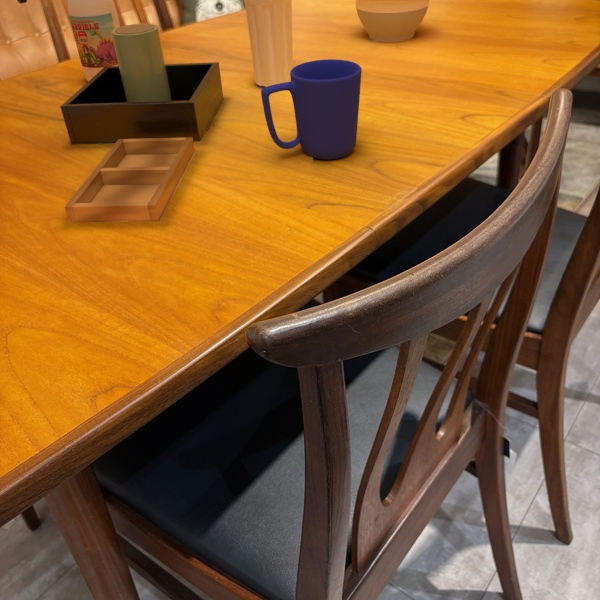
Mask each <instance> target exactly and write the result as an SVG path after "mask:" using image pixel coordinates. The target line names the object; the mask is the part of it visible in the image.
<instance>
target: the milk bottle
mask: <svg viewBox="0 0 600 600" xmlns="http://www.w3.org/2000/svg"><path fill="white" fill-rule="evenodd" d="M66 3H67V10H68V16H69V20H70V24H71V29H72V32H73V37H74V40H75V44H76V48H77V52H78V57H79V60H80V63H81V67H82V68H81V69H82V71H83V74H84V78H85V80H86V81H87V82H88V81H89V80H91V79H92V78H93V77H94V76H95V75H96V74H97V73H98V72H100V71H101V70H102V69H103V68H104V67H108V66H109V67H110V66H118V61H117V57H116V52H115V48H114V44H113V39H112V35H111V31H112V30H113V29H116V28H118V27H121V23H120V19H119V15H118V11H117V6H116V3H115V1H114V0H67V2H66Z"/></svg>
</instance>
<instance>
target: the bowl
mask: <svg viewBox="0 0 600 600" xmlns="http://www.w3.org/2000/svg"><path fill="white" fill-rule="evenodd" d="M429 5H430V0H355V9H356V14H357V17H358V18H359V22H360V23H361V25H362V26H363V28H364V29H365V30H366V32H367V34H368V39H370V40H371V41H375V42H381V43H397V42H403V41H404V42H405V41H408V40H411V39H412V38H414V37H415V32H416V30H417V29H418V28H419V26H420V25H421V24H422V22H423V20H424V18H425V16H426V14H427V12H428V8H429Z"/></svg>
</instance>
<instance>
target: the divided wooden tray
mask: <svg viewBox="0 0 600 600" xmlns="http://www.w3.org/2000/svg"><path fill="white" fill-rule="evenodd" d="M196 153H197V150H196V149H195V144H194V141H193V137H187V138H186V137H183V138H146V139H118V140H117V142H116V143H113V145H112V147H111V148H110V149H109V150H108V151H107V152H106V154H105V155H104V157H102V159H101V161H100V162H98V164H97V165H96V167H95V168H94V169H93V171H91V173H90V174H89V175H88V177H87V178H86V179H85V181H83V183H81V185H80V186H79V188H78V189H77V191H76V192H75V193H74V194H73V195H72V197H71V198H70V199H69V201H67V203H66V204H65V205H64V210H65V212H66V217H67V219H68V221H67V223H132V222H134V223H135V222H136V223H137V222H161V221H162V219H163V217H164V215H165V213H166V211H167V209H168V207H169V206H170V203H171V202H172V199H173V198H174V195H176V192H177V190H178V188H179V186H180V184H181V182H182V180H183V179H184V177H185V174H186V173H187V170H188V169H189V167H190V165H191V163H192V161H193V159H194V158H195V155H196Z"/></svg>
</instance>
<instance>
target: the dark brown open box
mask: <svg viewBox="0 0 600 600" xmlns="http://www.w3.org/2000/svg"><path fill="white" fill-rule="evenodd" d="M165 65H166V71H167V76H168V82H169V87H170V93H171V98H172V101H158V102H127V101H126V97H125V92H124V88H123V83H122V79H121V75H120V70H119V66H110V67H109V66H108V67H104V68H103V69H102V70H101V71H100V72H98V73H97V74H96V75H95V76H94V77H93V78H92V79H91V80H89V81H87V82H86V83H85V84H83V85H82V86H81V88H79V89H78V90H77V91H76V92H75V93H74V94H72V95H71V96H70V97H69V98H68V99H66V101H64V103H63V104H61V105H60V107H59V108H60V110H61V114H62V118H63V121H64V125H65V128H66V131H67V134H68V138H69V141H70V145H106V144H107V145H108V144H111V145H112V144H113V145H114V144H115V143H116V142H117V140H118V139H146V138H183V137H186V138H187V137H193V142H201V140H202V139H203V137H204V135H205V133H206V132H208V131H209V129H210V127H211V126H212V125H211V124H212V123H213V121H214V119H215V117H216V115H217V113H218V111H219V110H220V108H221V105H222V103H223V101H224V100H225V99H224V92H223V85H222V76H221V69H220V63H219V62H218V61H216V62H212V61H211V62H188V63H187V62H186V63H165Z"/></svg>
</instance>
